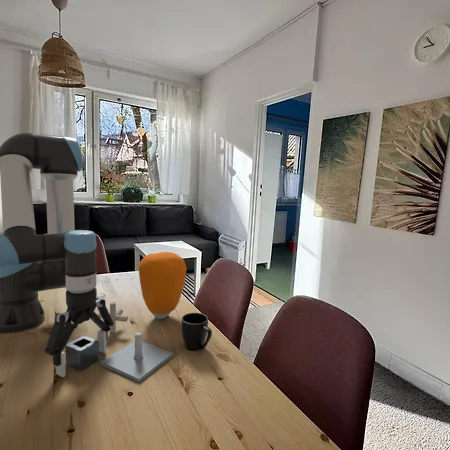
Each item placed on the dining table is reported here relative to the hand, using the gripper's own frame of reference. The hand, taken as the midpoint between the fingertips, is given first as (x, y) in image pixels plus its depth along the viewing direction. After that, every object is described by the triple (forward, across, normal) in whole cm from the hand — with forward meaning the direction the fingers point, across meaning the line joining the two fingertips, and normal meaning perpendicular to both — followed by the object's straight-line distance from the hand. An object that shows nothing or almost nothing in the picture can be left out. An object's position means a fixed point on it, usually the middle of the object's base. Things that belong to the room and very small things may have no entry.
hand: (82, 362), depth 85 cm
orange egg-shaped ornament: (0, +34, 0) cm, 34 cm away
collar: (0, 0, 0) cm, 0 cm away
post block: (0, +9, -12) cm, 15 cm away
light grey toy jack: (0, +17, +7) cm, 18 cm away
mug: (0, +23, -23) cm, 32 cm away
